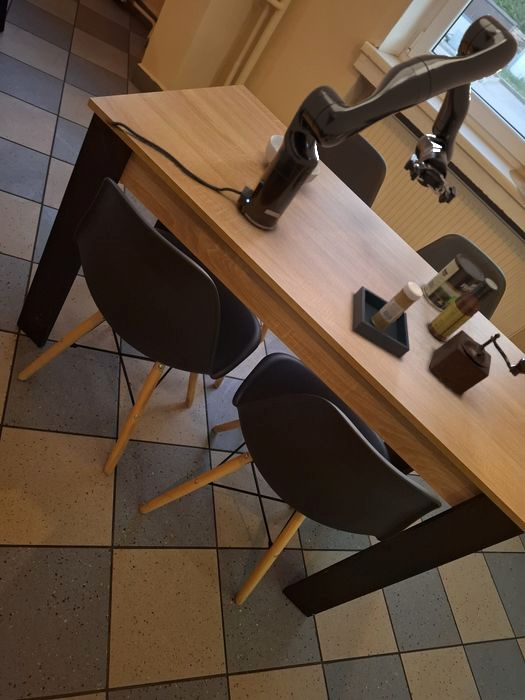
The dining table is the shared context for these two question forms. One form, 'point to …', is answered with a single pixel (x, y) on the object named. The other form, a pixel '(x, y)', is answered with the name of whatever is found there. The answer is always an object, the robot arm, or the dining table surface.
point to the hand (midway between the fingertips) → (429, 188)
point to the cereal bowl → (274, 147)
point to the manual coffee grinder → (467, 362)
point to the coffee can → (452, 282)
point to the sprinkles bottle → (397, 306)
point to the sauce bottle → (461, 310)
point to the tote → (388, 339)
